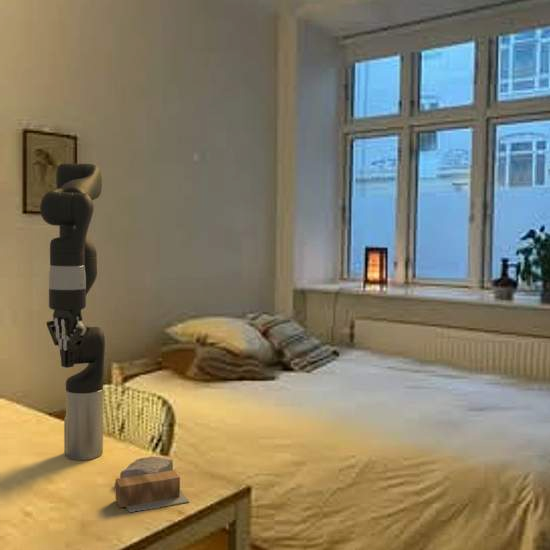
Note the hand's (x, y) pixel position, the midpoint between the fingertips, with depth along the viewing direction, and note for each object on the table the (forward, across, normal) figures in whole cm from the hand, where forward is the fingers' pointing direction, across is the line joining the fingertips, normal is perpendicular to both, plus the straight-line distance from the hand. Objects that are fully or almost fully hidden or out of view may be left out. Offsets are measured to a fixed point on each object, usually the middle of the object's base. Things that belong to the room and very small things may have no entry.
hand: (67, 366), depth 137 cm
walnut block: (+26, -11, -5) cm, 29 cm away
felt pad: (+29, -14, -12) cm, 34 cm away
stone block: (+29, -4, -18) cm, 35 cm away
